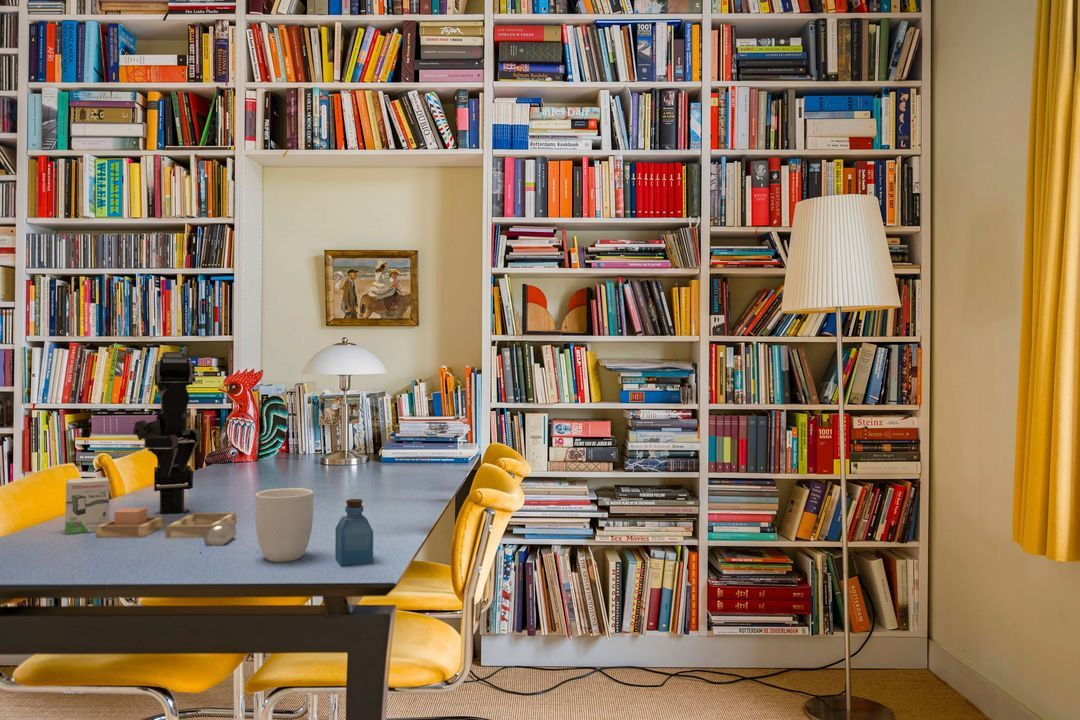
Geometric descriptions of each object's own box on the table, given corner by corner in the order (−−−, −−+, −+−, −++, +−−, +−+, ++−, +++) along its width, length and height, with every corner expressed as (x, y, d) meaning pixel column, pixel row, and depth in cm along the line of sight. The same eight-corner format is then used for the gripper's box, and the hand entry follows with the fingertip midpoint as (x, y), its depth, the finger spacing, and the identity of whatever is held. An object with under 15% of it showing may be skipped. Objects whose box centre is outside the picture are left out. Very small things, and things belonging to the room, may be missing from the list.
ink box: (65, 534, 176) (65, 482, 176) (64, 530, 181) (65, 479, 181) (109, 530, 181) (109, 479, 181) (107, 526, 185) (108, 476, 185)
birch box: (192, 525, 187) (192, 513, 187) (236, 525, 187) (236, 512, 187) (165, 540, 171) (165, 526, 171) (213, 540, 172) (213, 526, 172)
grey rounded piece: (215, 540, 171) (216, 520, 171) (235, 542, 171) (237, 521, 171) (203, 548, 164) (204, 527, 164) (224, 549, 164) (226, 528, 164)
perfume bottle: (340, 566, 150) (341, 504, 150) (335, 559, 156) (335, 498, 156) (373, 563, 153) (373, 502, 153) (366, 556, 159) (367, 496, 159)
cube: (124, 529, 179) (124, 507, 179) (147, 529, 179) (147, 507, 179) (114, 534, 174) (114, 512, 174) (137, 534, 174) (137, 511, 174)
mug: (237, 553, 160) (238, 489, 160) (289, 545, 168) (289, 484, 168) (269, 568, 149) (270, 499, 149) (323, 558, 157) (323, 492, 157)
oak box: (118, 530, 181) (118, 517, 181) (163, 529, 182) (163, 516, 182) (95, 540, 171) (95, 526, 171) (143, 539, 172) (143, 526, 172)
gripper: (156, 406, 197) (156, 469, 197) (121, 411, 178) (120, 480, 178) (202, 406, 197) (201, 469, 197) (171, 411, 179) (171, 480, 179)
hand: (173, 474), depth 188 cm, fingers open, 9 cm apart
